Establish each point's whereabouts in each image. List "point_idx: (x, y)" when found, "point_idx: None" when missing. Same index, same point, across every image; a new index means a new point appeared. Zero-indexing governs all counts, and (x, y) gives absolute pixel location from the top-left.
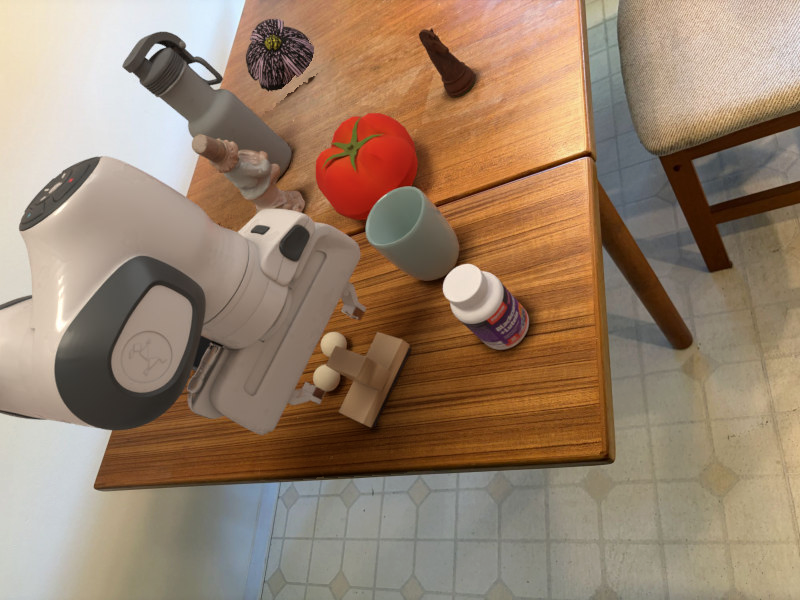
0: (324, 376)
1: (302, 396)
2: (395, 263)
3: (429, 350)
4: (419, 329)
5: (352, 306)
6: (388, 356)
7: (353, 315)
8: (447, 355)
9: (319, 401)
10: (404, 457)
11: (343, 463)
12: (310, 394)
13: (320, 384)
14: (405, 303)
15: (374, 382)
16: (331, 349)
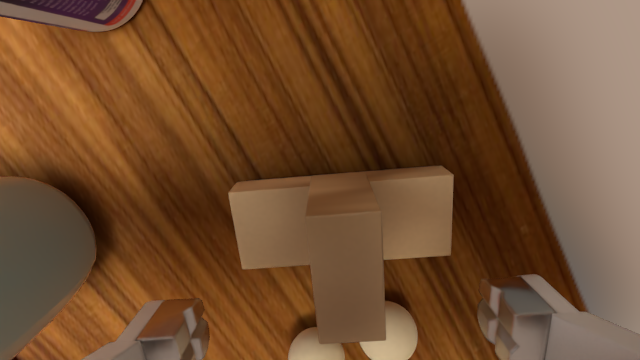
0: (391, 336)
1: (622, 347)
2: (14, 302)
3: (229, 136)
4: (200, 188)
5: (144, 354)
6: (280, 204)
7: (179, 329)
8: (218, 83)
9: (533, 279)
10: (465, 52)
11: (527, 194)
12: (563, 319)
13: (410, 336)
14: (168, 254)
15: (356, 184)
16: (328, 356)
